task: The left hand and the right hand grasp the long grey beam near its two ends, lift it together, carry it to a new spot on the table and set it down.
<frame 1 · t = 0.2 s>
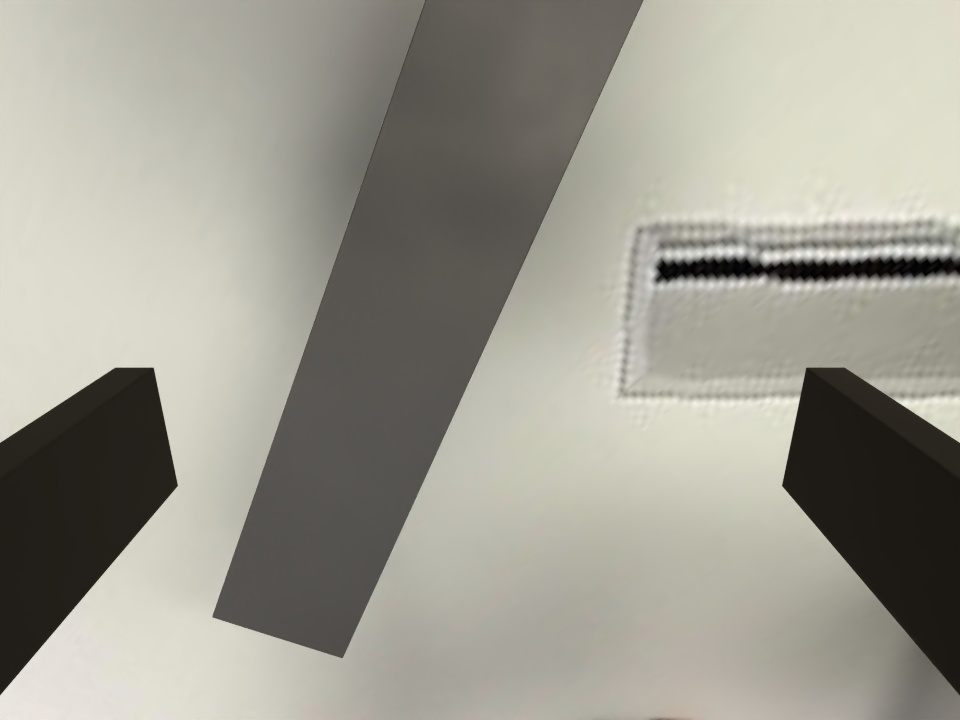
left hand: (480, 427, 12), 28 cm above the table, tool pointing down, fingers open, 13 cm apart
long grey beam: (460, 184, 37), on the table
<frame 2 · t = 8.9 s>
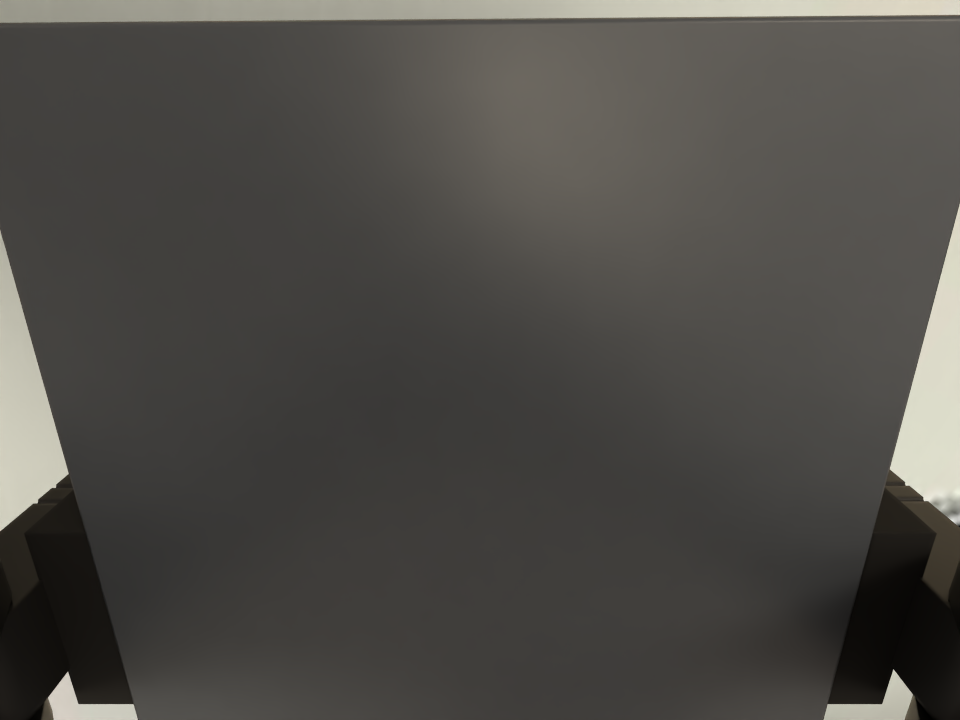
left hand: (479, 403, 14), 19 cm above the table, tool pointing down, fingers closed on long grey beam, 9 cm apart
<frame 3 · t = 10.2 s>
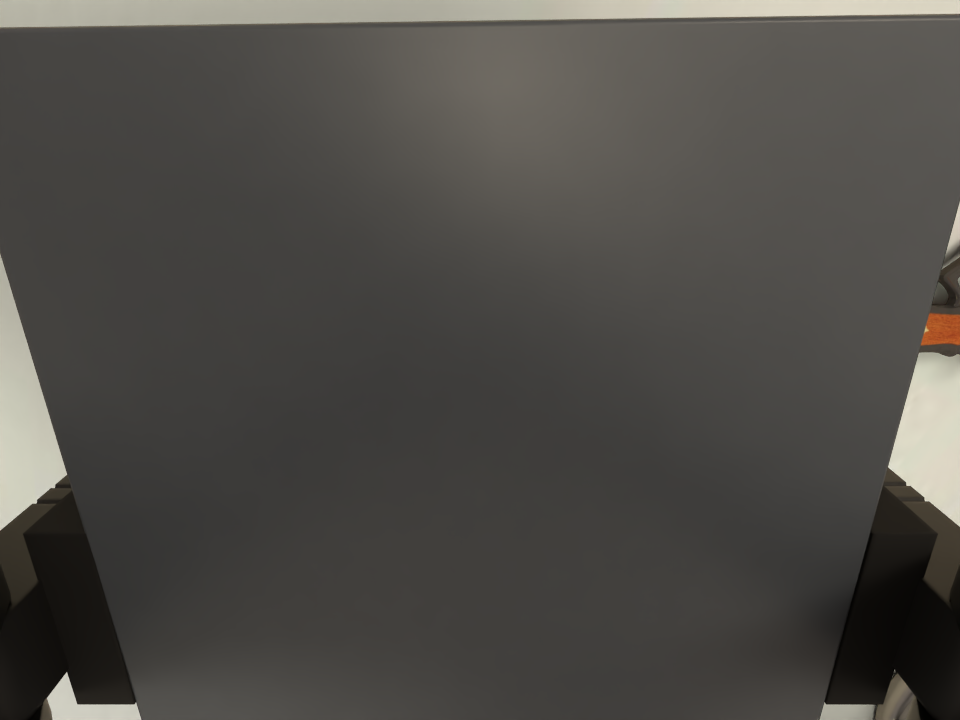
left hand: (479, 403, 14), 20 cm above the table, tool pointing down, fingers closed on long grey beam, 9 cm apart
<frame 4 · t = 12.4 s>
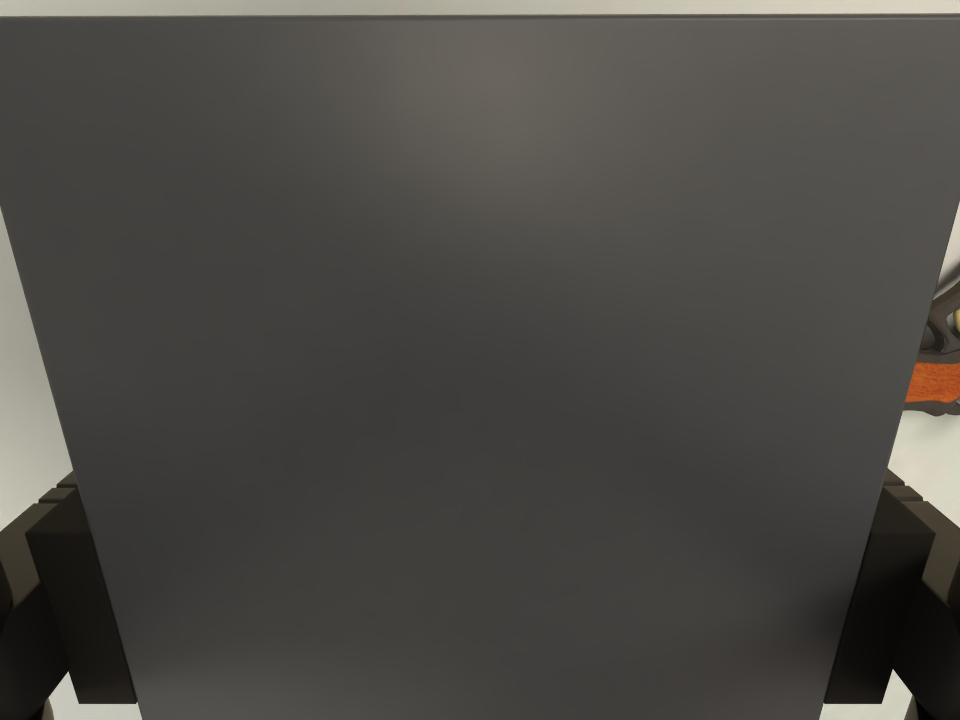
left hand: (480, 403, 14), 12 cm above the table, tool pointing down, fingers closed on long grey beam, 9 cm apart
when the left hand's fingers open (2 cm above the table, at t = 14.4 s): long grey beam stays where it is, on the table.
when the right hand's fingers open (2 cm above the table, at t = 14.4 s): long grey beam stays where it is, on the table.
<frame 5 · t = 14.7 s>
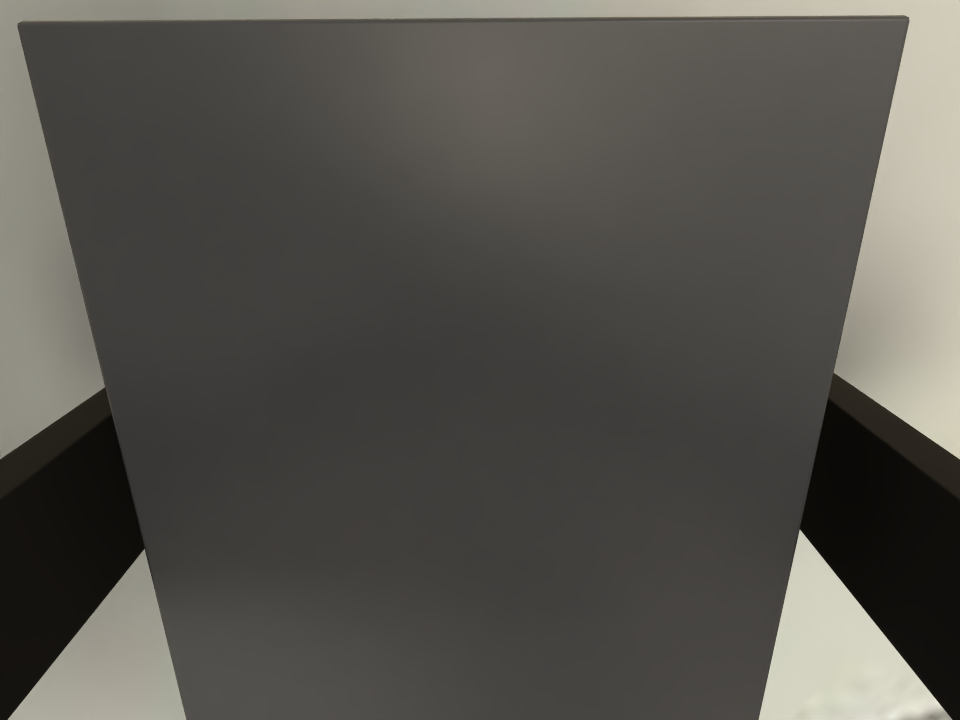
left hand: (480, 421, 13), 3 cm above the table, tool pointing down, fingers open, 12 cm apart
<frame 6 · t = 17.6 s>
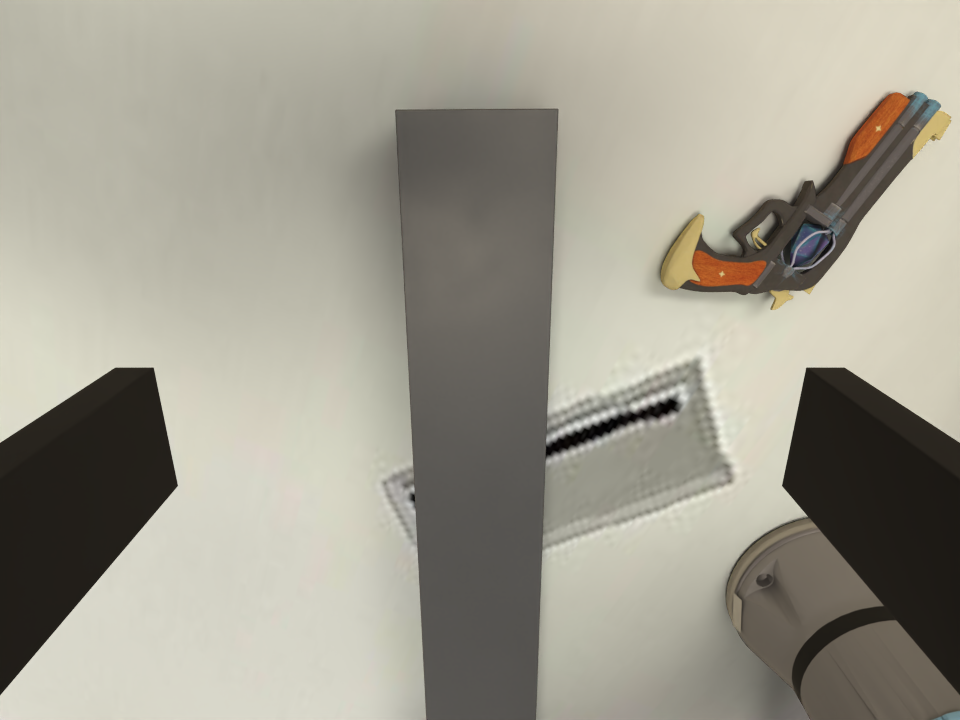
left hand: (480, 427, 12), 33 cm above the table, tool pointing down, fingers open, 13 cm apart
toy gun: (787, 199, 43), on the table
long grey beam: (480, 510, 52), on the table
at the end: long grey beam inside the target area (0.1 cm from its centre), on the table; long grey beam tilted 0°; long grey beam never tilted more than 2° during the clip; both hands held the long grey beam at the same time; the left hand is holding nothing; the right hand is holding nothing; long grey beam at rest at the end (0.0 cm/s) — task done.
